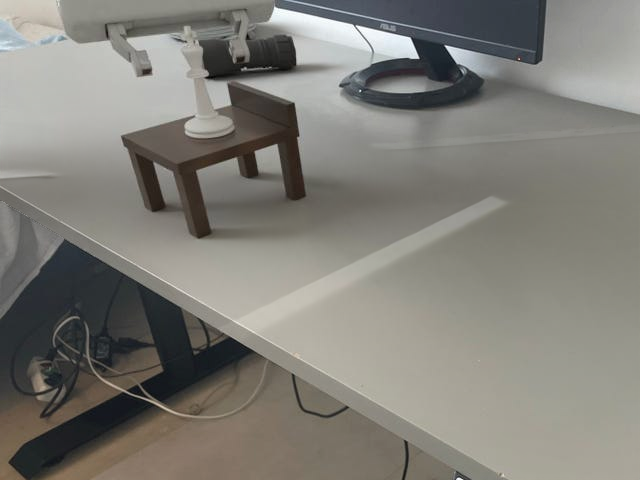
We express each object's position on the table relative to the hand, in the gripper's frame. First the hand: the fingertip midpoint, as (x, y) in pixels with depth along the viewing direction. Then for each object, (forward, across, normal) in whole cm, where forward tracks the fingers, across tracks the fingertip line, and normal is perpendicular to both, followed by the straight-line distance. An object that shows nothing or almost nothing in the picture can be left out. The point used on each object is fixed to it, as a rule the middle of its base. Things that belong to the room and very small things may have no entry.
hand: (195, 66), depth 70 cm
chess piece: (+5, 0, +5) cm, 7 cm away
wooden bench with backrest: (+10, 0, +10) cm, 14 cm away
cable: (-43, +19, +64) cm, 79 cm away
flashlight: (-23, +18, +44) cm, 52 cm away
